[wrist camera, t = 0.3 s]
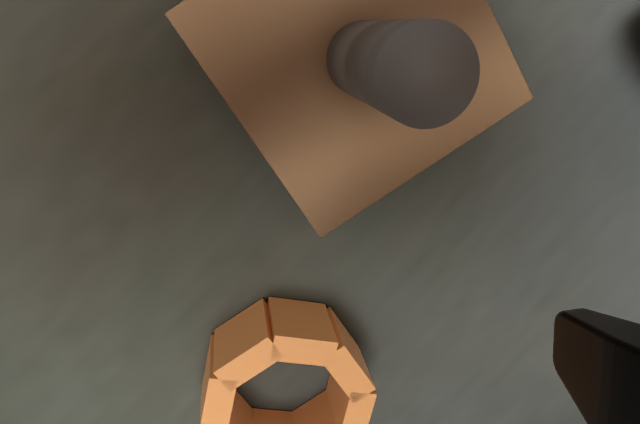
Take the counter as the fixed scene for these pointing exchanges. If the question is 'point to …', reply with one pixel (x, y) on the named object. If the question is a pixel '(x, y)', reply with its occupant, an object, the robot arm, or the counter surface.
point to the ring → (285, 346)
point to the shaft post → (354, 88)
